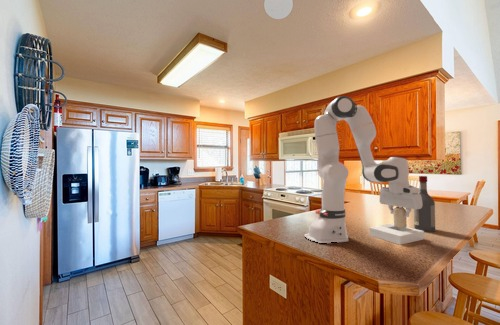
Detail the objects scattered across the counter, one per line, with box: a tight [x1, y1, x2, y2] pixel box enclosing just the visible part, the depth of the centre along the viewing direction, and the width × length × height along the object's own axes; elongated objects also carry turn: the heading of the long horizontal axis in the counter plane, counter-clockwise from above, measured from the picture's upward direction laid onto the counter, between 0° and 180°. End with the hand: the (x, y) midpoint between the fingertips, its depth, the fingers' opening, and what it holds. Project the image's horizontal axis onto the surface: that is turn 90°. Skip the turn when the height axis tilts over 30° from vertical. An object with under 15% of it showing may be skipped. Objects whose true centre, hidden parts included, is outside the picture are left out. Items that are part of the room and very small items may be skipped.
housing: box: [369, 223, 425, 246], centre depth 117 cm, size 18×16×4 cm
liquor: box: [413, 175, 436, 233], centre depth 129 cm, size 9×9×30 cm
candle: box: [393, 206, 408, 228], centre depth 118 cm, size 6×6×10 cm
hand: (399, 215), depth 118 cm, fingers closed on candle, 5 cm apart
